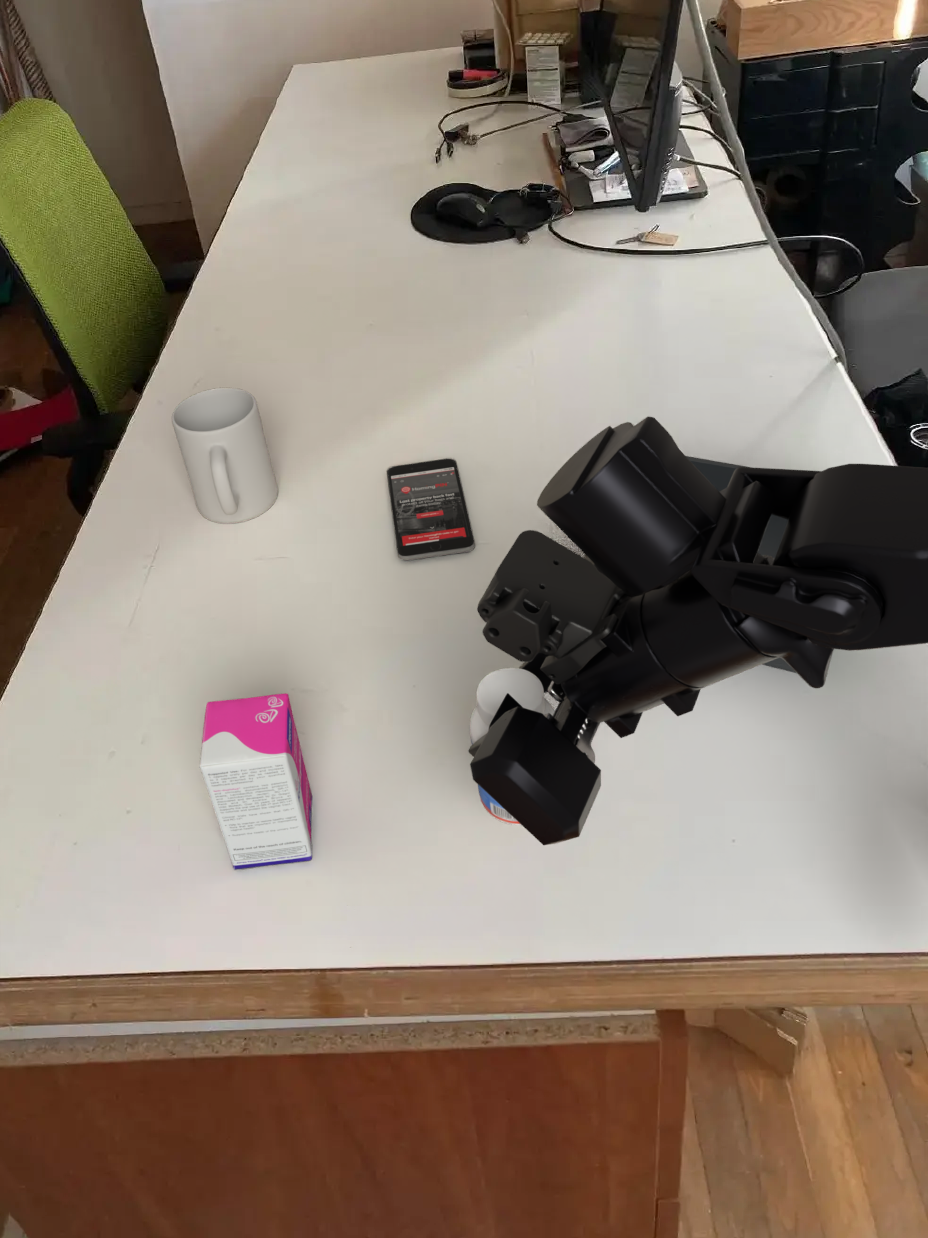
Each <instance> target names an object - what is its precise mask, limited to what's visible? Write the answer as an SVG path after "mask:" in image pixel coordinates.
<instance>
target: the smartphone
mask: <svg viewBox="0 0 928 1238" xmlns="http://www.w3.org/2000/svg"><path fill="white" fill-rule="evenodd" d="M386 477H387V483H388V491H389V497H390V498H389V500H390V507H391V515H392V521H393V523H392V524H393V529H394V530H393V531H394V537H395V545H396V552H397V553H396V554H397V557H398V559H400V560H401V561H414V560H421V559H426V558H427V559H428V558H434V557H443V556H448V555H453V554H454V555H455V554H463V553H469V552H471V551H473V550H474V549H475V547H476V543H475V539H474V537H475V536H474V533H473V529H472V524H471V519H470V515H469V510H468V507H467V502H466V498H465V493H464V489H463V485H462V481H461V476H460V471H459V467H458V463H457V460H456V459H454V458H452V457H446V458H440V459H433V460H427V461H420V462H413V463H405V464H399V465H393V466H389V467H388V468H387V470H386Z"/></svg>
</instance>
